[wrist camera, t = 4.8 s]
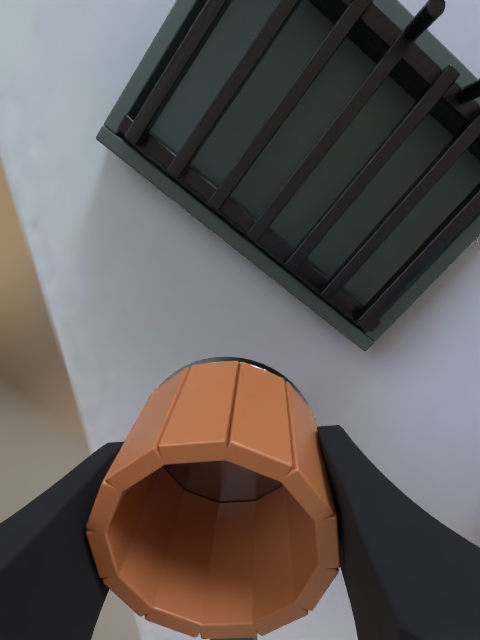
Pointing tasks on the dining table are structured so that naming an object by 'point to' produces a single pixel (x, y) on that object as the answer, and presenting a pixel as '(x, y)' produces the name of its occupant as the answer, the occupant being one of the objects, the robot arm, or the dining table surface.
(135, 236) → the dining table surface
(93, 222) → the dining table surface
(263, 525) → the saucepan
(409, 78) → the dish rack
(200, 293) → the dining table surface
